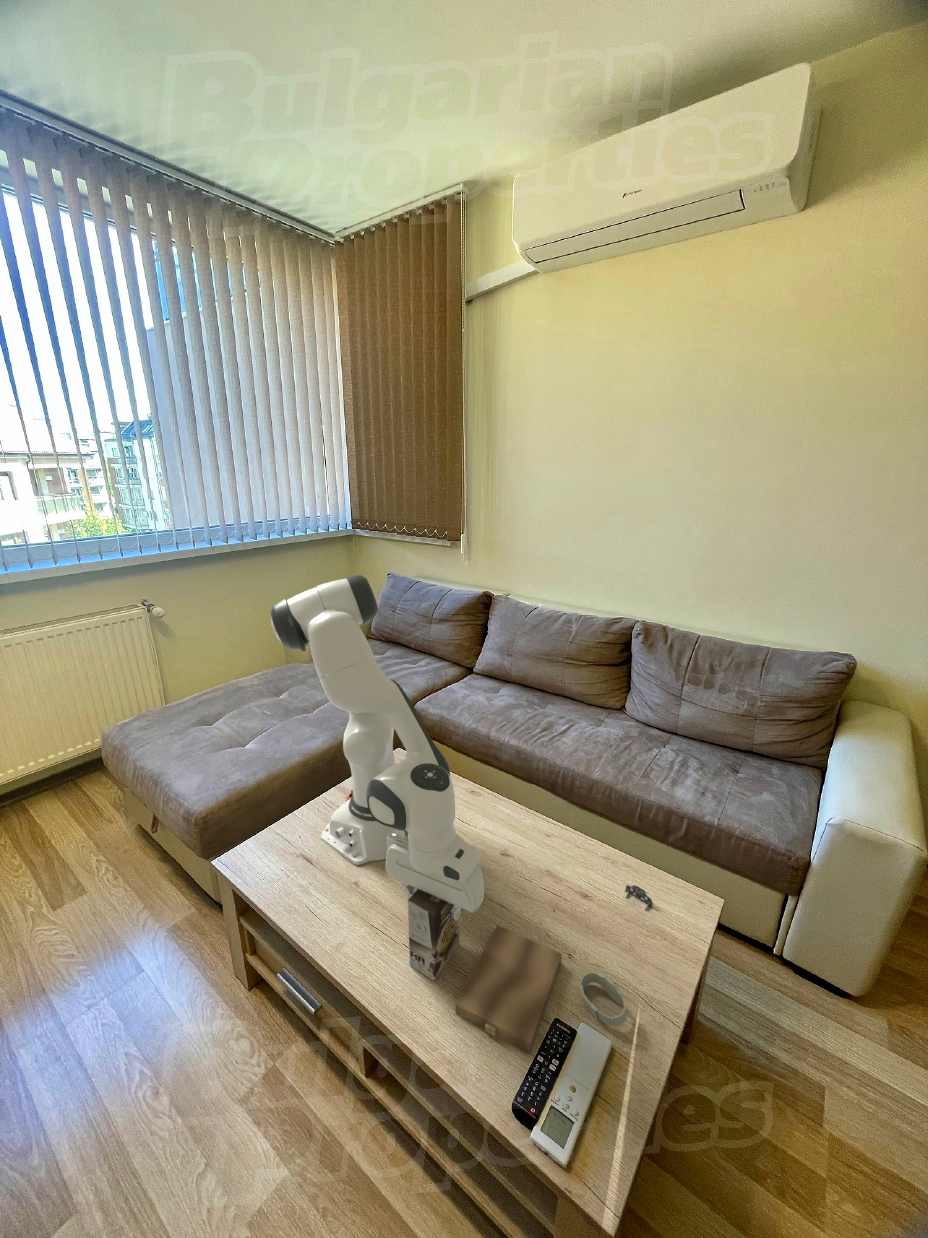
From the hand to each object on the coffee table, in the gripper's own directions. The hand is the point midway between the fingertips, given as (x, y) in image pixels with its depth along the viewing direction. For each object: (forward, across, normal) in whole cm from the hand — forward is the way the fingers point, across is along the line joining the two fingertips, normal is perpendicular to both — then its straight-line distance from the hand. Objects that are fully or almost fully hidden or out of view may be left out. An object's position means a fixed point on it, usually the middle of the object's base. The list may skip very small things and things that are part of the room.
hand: (433, 907), depth 96 cm
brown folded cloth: (+13, +16, +1) cm, 21 cm away
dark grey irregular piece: (+13, +38, +31) cm, 51 cm away
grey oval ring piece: (+13, +32, +6) cm, 35 cm away
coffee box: (+12, 0, 0) cm, 13 cm away
